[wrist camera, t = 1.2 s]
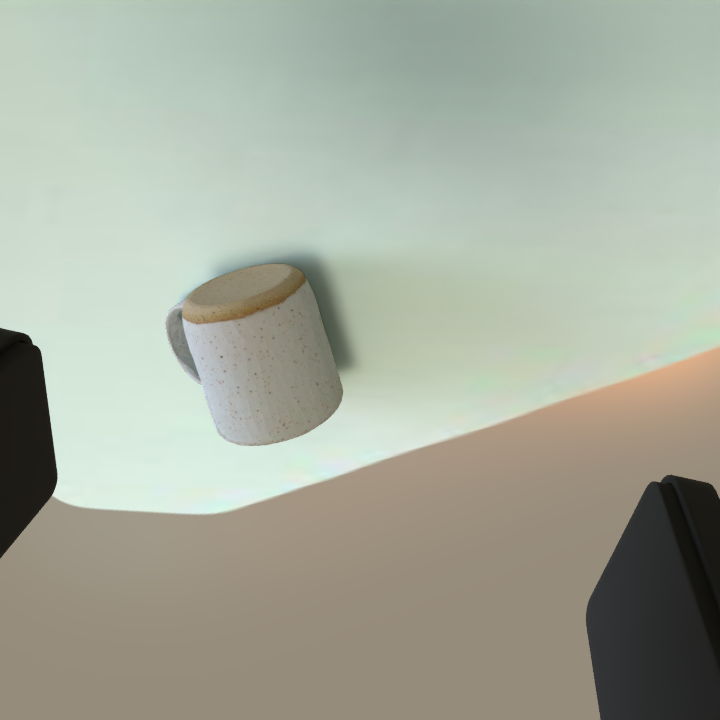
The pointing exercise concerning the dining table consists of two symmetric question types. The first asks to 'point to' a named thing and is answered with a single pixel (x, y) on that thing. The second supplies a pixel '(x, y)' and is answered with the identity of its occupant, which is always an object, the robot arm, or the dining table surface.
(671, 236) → the dining table surface
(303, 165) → the dining table surface
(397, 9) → the dining table surface
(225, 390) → the ceramic mug
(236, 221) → the dining table surface
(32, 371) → the robot arm
